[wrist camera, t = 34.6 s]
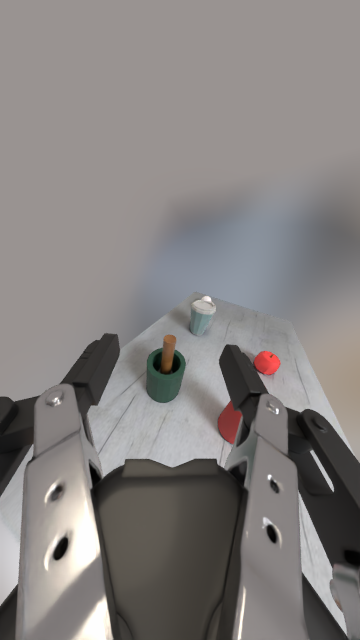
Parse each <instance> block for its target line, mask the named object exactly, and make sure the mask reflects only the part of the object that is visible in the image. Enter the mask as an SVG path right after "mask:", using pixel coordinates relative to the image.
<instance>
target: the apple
mask: <svg viewBox="0 0 360 640" xmlns="http://www.w3.org/2000/svg"><path fill="white" fill-rule="evenodd" d="M254 364H255V367H256V369H257V370H259V371H260V372H262V373H263V374H268V375H271V374H273V373H274V372H276V371H277V369H278V368H279V366H280V360H279V359H278V357H277V356H276V355H274V354H273V353H271V352H267V351H262V352H260V353H259V354H258V355H257V356H256V357H255V360H254Z"/></svg>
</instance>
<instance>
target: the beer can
mask: <svg viewBox="0 0 360 640" xmlns="http://www.w3.org/2000/svg"><path fill="white" fill-rule="evenodd" d="M241 416H242V413H241V411H234V408H233V405H232V402H231V401H230V402H229V403H228V405H227V406H226V408H225V409H224V410H223V412H222V413H221V414H220V416H219V418H218V428H219V431H220V433H221V435H222V436H223V438H224V439H225V440H227V441H228V442H230V443H231V444H234V441H235V437H236V433H237V430H238V426H239V423H240V419H241Z"/></svg>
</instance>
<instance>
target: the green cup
mask: <svg viewBox="0 0 360 640" xmlns="http://www.w3.org/2000/svg"><path fill="white" fill-rule="evenodd" d="M162 351H163V348H160V349H157V350H155V351H153V352H152V353H151V354H150V355H149V357H148V359H147V392H148V394H149V396H150V397H151V398H152V399H153V400H154V401H157V402H160V403H165V402H169V401H171V400H173V399H174V398H175V397H176V396H177V394H178V392H179V389H180V386H181V382H182V378H183V375H184V371H185V366H186V362H185V359H184V357H183V355H182V354H181V353H180V352H178V351H177V350H174V356H173V361H172V367H171V370H172V372H173V374H169V375H165V374H161V373H159V372H158V370H159V369H160V368H161V360H162Z"/></svg>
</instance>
